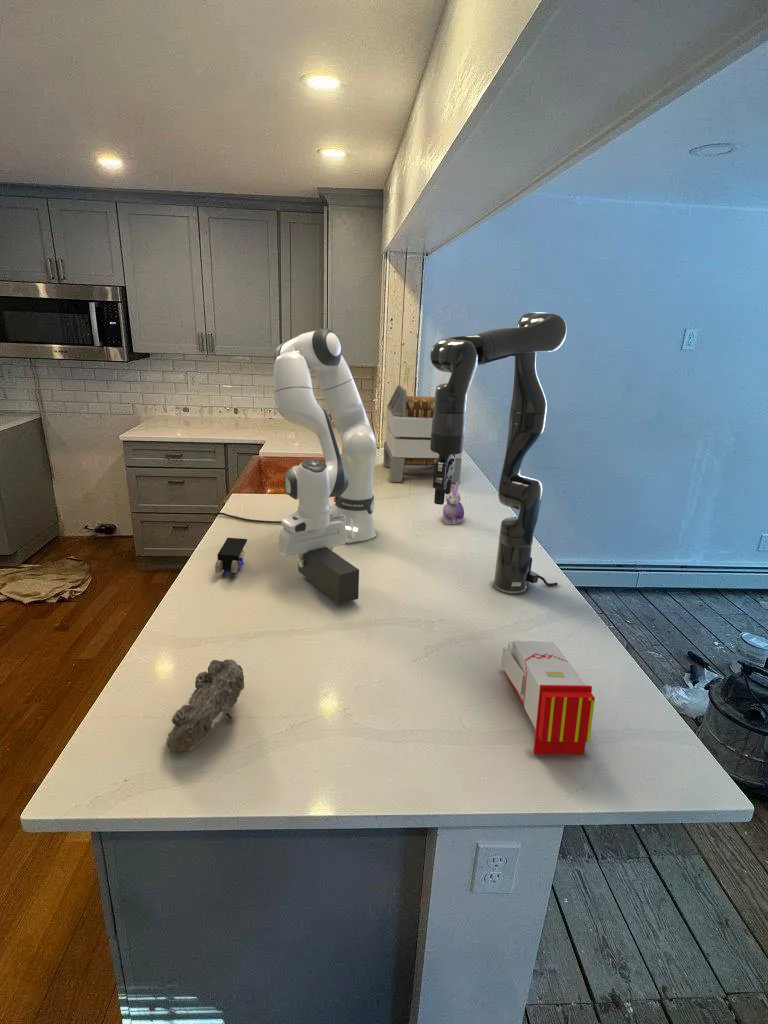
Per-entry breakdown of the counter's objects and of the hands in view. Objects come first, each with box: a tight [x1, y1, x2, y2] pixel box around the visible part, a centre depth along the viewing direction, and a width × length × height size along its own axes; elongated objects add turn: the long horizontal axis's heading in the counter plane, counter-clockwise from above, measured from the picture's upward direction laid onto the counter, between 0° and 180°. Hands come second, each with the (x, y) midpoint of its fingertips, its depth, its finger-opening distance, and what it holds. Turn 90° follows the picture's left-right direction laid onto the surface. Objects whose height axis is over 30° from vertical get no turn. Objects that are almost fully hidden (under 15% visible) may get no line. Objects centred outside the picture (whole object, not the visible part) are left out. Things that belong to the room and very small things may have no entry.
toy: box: [500, 640, 596, 756], centre depth 114 cm, size 12×13×30 cm
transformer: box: [383, 384, 463, 484], centre depth 268 cm, size 34×33×41 cm
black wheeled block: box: [214, 537, 248, 578], centre depth 166 cm, size 7×8×15 cm
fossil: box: [166, 658, 245, 754], centre depth 106 cm, size 22×10×15 cm
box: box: [297, 547, 360, 605], centre depth 157 cm, size 23×6×9 cm, turn 35°
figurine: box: [441, 482, 465, 525], centre depth 212 cm, size 9×10×15 cm
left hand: (313, 563), depth 163 cm, fingers closed on box, 6 cm apart
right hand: (442, 498), depth 134 cm, fingers open, 8 cm apart
